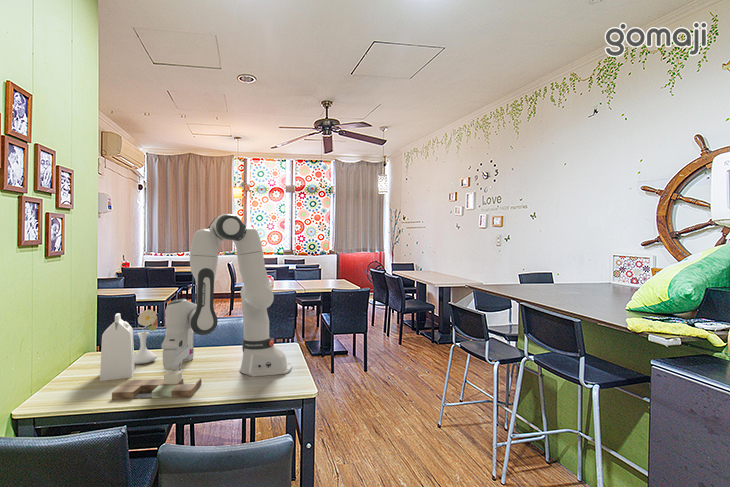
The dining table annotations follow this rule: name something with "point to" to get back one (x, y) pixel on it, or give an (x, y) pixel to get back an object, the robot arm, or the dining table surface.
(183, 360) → the supplement can
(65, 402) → the dining table surface
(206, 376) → the dining table surface
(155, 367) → the dining table surface
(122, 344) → the milk
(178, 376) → the cream block
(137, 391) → the board
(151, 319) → the flower in vase
